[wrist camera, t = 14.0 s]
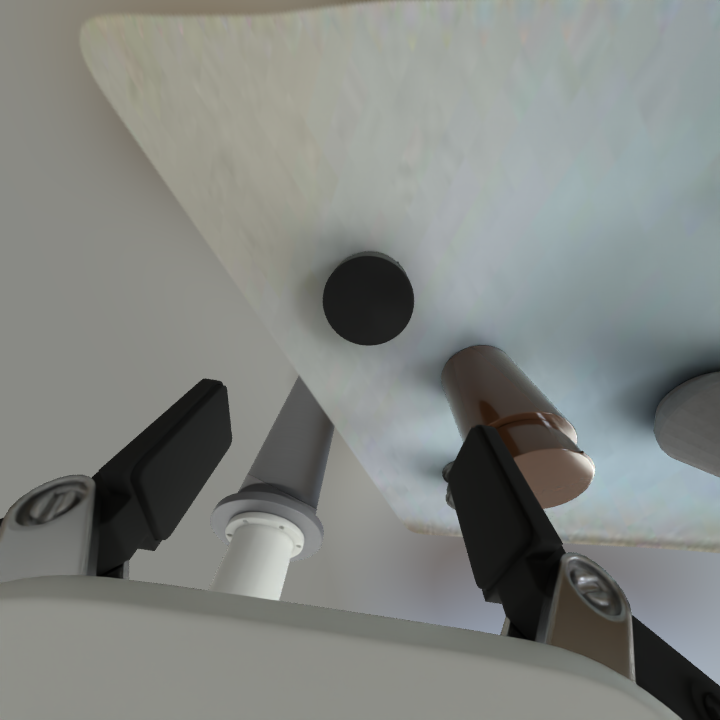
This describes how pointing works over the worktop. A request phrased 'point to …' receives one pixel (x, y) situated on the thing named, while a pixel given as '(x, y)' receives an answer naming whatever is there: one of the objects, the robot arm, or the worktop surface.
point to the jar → (517, 422)
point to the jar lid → (368, 299)
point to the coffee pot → (692, 423)
